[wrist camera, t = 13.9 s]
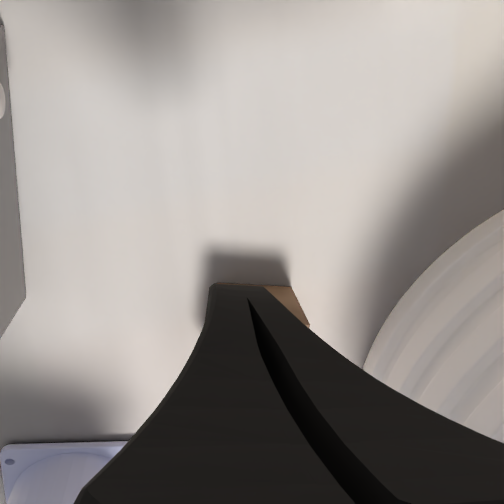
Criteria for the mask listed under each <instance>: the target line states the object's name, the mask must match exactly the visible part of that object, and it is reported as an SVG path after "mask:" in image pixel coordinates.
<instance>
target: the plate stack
mask: <svg viewBox="0 0 504 504" xmlns="http://www.w3.org/2000/svg"><path fill="white" fill-rule="evenodd" d="M363 370H364V371H365V372H367V373H368V374H370V375H371V376H373V377H374V378H376V379H377V380H379V381H381V382H382V383H384V384H386V385H387V386H389V387H390V388H392V389H394V390H396V391H397V392H399V393H401V394H403V395H405V396H406V397H408V398H410V399H412V400H413V401H415V402H417V403H419V404H421V405H422V406H424V407H426V408H428V409H430V410H432V411H434V412H436V413H438V414H440V415H442V416H444V417H446V418H448V419H450V420H452V421H455V422H457V423H459V424H461V425H463V426H465V427H467V428H470V429H472V430H474V431H476V432H478V433H480V434H483V435H485V436H487V437H490V438H492V439H495V440H497V441H500V442H502V443H504V210H502V211H500V212H499V213H497V214H495V215H494V216H492V217H491V218H489V219H488V220H486V221H484V222H483V223H481V224H480V225H479V226H477V227H476V228H474V229H473V230H471V231H470V232H469V233H467V234H466V235H465V236H463V237H462V238H461V239H460V240H458V241H457V242H456V243H455V244H453V245H452V246H451V247H450V248H449V249H448V250H446V251H445V252H444V253H443V254H442V255H441V256H440V257H439V258H438V259H436V260H435V261H434V262H433V263H432V264H431V265H430V266H429V267H428V268H427V269H426V270H425V271H424V272H423V273H422V274H421V275H420V277H419V278H418V279H417V280H416V281H415V282H414V283H413V284H412V286H411V287H410V288H409V289H408V290H407V291H406V293H405V294H404V295H403V297H402V298H401V299H400V300H399V302H398V303H397V304H396V306H395V307H394V309H393V310H392V312H391V313H390V315H389V316H388V318H387V319H386V321H385V322H384V324H383V326H382V327H381V329H380V331H379V333H378V335H377V336H376V338H375V340H374V342H373V344H372V346H371V349H370V351H369V353H368V356H367V358H366V361H365V364H364V367H363Z"/></svg>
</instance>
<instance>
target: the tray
mask: <svg viewBox="0 0 504 504" xmlns="http://www.w3.org/2000/svg"><path fill="white" fill-rule="evenodd" d="M25 298H26V290H25V278H24V265H23V253H22V241H21V229H20V217H19V204H18V192H17V180H16V168H15V156H14V143H13V131H12V119H11V107H10V95H9V83H8V70H7V58H6V46H5V34H4V26H3V25H0V338H1V337H2V335H3V333H4V332H5V330H6V329H7V327H8V325H9V324H10V322H11V321H12V319H13V317H14V316H15V314H16V313H17V311H18V309H19V308H20V306H21V305H22V303H23V301H24V300H25Z"/></svg>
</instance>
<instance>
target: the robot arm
mask: <svg viewBox="0 0 504 504" xmlns="http://www.w3.org/2000/svg"><path fill="white" fill-rule="evenodd" d="M0 463H1V470H2V477H3V484H4V492H5V499H6V504H504V443H502V442H500V441H497V440H495V439H492V438H490V437H487V436H485V435H483V434H480V433H478V432H476V431H474V430H472V429H470V428H467V427H465V426H463V425H461V424H459V423H457V422H455V421H452V420H450V419H448V418H446V417H444V416H442V415H440V414H438V413H436V412H434V411H432V410H430V409H428V408H426V407H424V406H422V405H421V404H419V403H417V402H415V401H413V400H412V399H410V398H408V397H406V396H405V395H403V394H401V393H399V392H397V391H396V390H394V389H392V388H390V387H389V386H387V385H386V384H384V383H382V382H381V381H379V380H377V379H376V378H374V377H373V376H371V375H370V374H368V373H367V372H365V371H364V370H362V369H361V368H359V367H358V366H356V365H355V364H353V363H352V362H351V361H349V360H348V359H346V358H345V357H344V356H342V355H341V354H340V353H338V352H337V351H336V350H335V349H333V348H332V347H331V346H330V345H328V344H327V343H326V342H324V341H323V340H322V339H321V338H320V337H318V336H317V335H316V334H315V333H314V332H312V331H311V330H310V329H309V328H308V327H307V326H306V325H304V324H303V323H302V322H301V321H300V320H299V319H298V318H297V317H296V316H295V315H293V314H292V313H291V312H290V311H289V310H288V309H287V308H286V307H285V306H284V305H283V304H282V303H281V302H280V301H279V300H278V299H277V298H275V297H274V296H273V295H272V294H271V293H270V292H269V291H268V290H267V289H266V288H264V287H263V286H252V285H233V284H213V285H212V286H211V287H210V288H209V295H208V303H207V311H206V319H205V324H204V327H203V329H202V332H201V334H200V336H199V338H198V341H197V343H196V345H195V347H194V350H193V352H192V353H191V355H190V357H189V359H188V361H187V363H186V365H185V366H184V368H183V370H182V371H181V373H180V375H179V376H178V378H177V380H176V381H175V382H174V384H173V385H172V387H171V388H170V390H169V391H168V393H167V394H166V396H165V397H164V399H163V400H162V401H161V403H160V404H159V405H158V407H157V408H156V409H155V411H154V412H153V413H152V414H151V415H150V417H149V418H148V419H147V420H146V421H145V423H144V424H143V425H142V426H141V427H140V428H139V430H138V431H137V432H136V433H135V434H134V436H133V437H132V438H131V439H130V440H129V441H113V442H75V443H38V444H9V445H6V446H4V447H3V448H2V450H1V452H0Z"/></svg>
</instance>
